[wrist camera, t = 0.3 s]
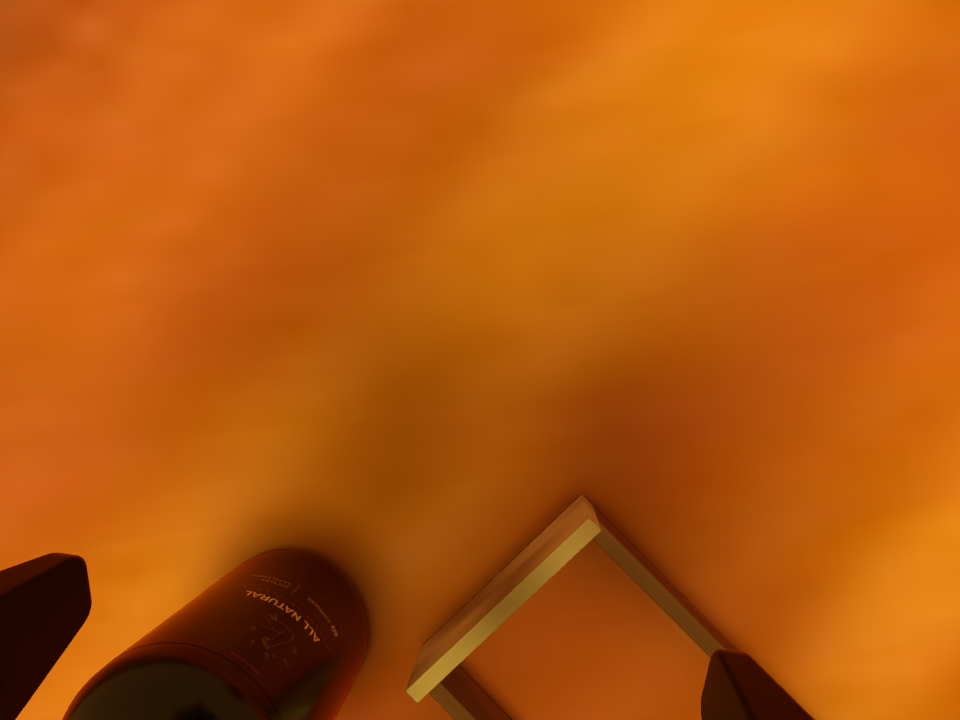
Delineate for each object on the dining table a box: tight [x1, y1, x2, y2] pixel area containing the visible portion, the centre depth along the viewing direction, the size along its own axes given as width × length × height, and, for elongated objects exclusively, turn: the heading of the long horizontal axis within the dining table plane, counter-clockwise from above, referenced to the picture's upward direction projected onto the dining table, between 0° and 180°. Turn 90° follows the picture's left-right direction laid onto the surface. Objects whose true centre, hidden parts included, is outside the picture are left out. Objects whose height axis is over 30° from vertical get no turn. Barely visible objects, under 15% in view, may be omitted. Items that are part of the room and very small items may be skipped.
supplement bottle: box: [62, 551, 368, 720], centre depth 19 cm, size 7×7×12 cm
